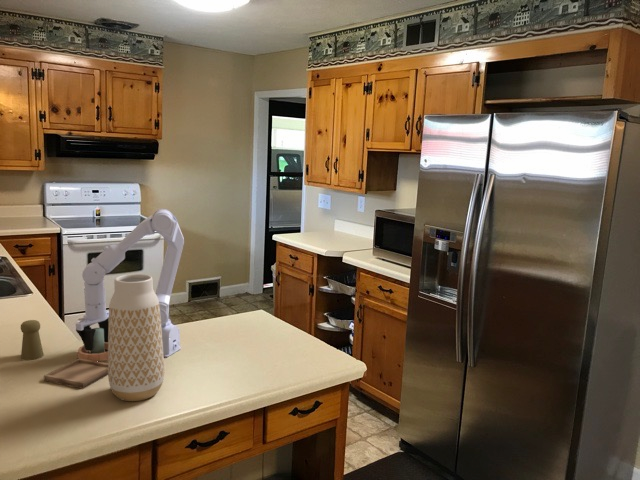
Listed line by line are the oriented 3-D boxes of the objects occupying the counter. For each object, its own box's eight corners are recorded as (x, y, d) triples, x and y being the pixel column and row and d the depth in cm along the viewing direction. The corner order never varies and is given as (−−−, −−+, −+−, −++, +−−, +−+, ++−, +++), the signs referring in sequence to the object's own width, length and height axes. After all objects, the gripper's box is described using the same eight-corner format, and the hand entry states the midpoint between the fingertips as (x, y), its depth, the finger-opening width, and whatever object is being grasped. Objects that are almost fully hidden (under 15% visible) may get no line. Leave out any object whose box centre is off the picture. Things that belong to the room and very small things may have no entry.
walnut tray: (116, 369, 154) (116, 364, 154) (83, 388, 142) (83, 383, 142) (79, 363, 158) (79, 358, 158) (44, 380, 146) (43, 375, 146)
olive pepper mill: (34, 361, 159) (31, 325, 157) (16, 359, 160) (13, 323, 158) (48, 353, 165) (46, 318, 163) (30, 351, 166) (28, 317, 164)
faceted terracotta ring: (123, 351, 168) (123, 344, 168) (99, 364, 158) (99, 356, 158) (95, 346, 171) (95, 340, 171) (70, 358, 161) (70, 351, 161)
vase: (110, 409, 131) (105, 286, 126) (107, 386, 144) (103, 273, 139) (168, 400, 137) (165, 282, 132) (161, 378, 149) (158, 270, 144)
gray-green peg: (107, 353, 166) (106, 328, 164) (98, 358, 162) (97, 332, 161) (96, 351, 167) (95, 327, 166) (87, 356, 163) (86, 331, 162)
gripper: (101, 295, 170) (102, 336, 172) (66, 307, 156) (68, 352, 159) (119, 297, 168) (121, 339, 170) (86, 310, 154) (88, 355, 156)
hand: (97, 345), depth 164 cm, fingers open, 6 cm apart
